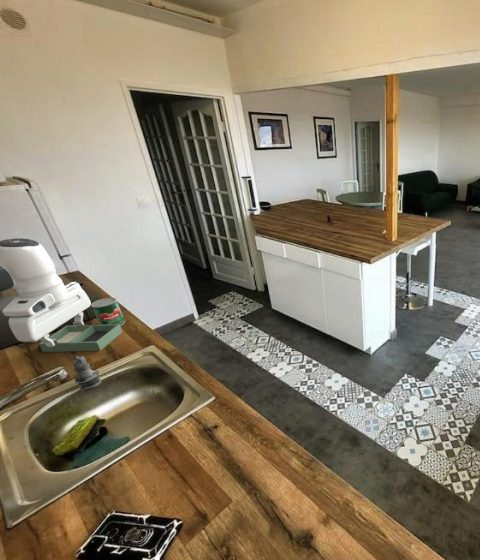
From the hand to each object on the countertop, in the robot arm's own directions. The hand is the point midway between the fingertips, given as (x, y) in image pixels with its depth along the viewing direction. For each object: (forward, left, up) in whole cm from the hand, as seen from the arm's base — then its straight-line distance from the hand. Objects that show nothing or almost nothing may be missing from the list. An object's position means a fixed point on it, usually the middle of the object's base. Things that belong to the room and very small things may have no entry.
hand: (66, 335), depth 93 cm
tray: (+24, +20, -19) cm, 37 cm away
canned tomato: (+36, +18, -20) cm, 44 cm away
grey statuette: (0, 0, -20) cm, 20 cm away
